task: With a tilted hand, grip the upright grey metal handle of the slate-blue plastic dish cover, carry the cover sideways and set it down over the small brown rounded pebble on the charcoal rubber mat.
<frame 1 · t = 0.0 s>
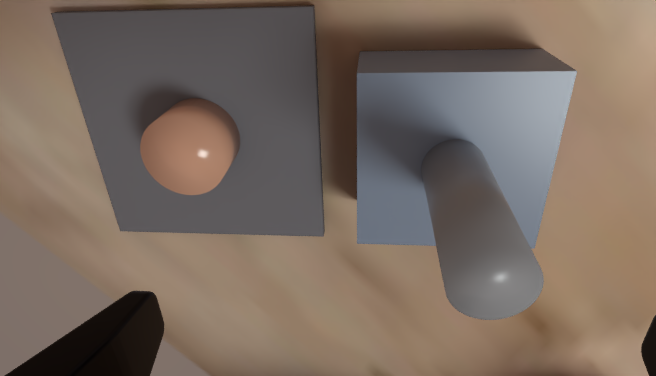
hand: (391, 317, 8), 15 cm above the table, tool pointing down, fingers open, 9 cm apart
rubber mat: (204, 132, 23), on the table
brown rounded pebble: (201, 136, 22), resting on rubber mat
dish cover: (441, 133, 22), on the table
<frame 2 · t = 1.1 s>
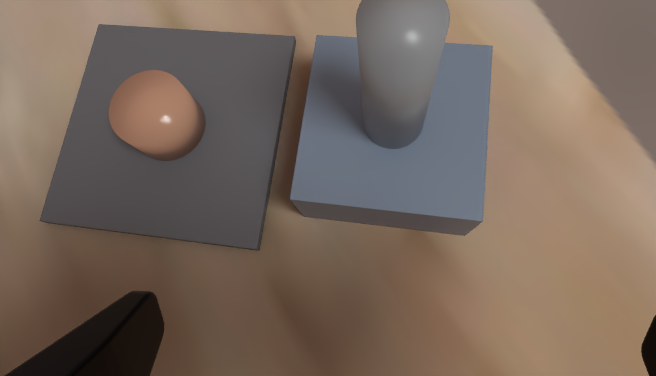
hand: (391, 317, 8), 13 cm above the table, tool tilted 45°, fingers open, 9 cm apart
rubber mat: (174, 129, 25), on the table
brown rounded pebble: (170, 126, 24), resting on rubber mat
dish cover: (390, 150, 23), on the table
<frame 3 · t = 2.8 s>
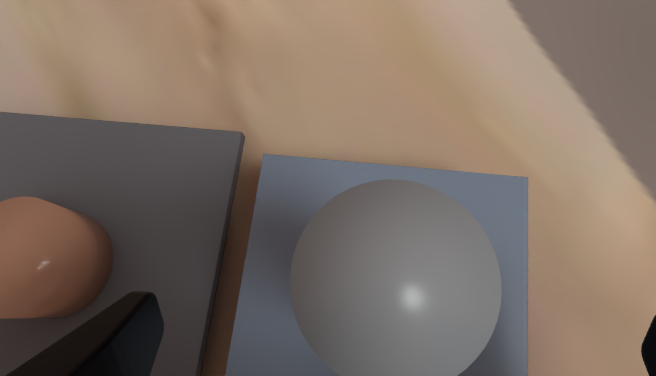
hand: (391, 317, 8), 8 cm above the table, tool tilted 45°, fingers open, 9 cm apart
rubber mat: (71, 265, 17), on the table
brown rounded pebble: (62, 263, 17), point 1 cm above the table, touching rubber mat
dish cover: (376, 303, 16), on the table
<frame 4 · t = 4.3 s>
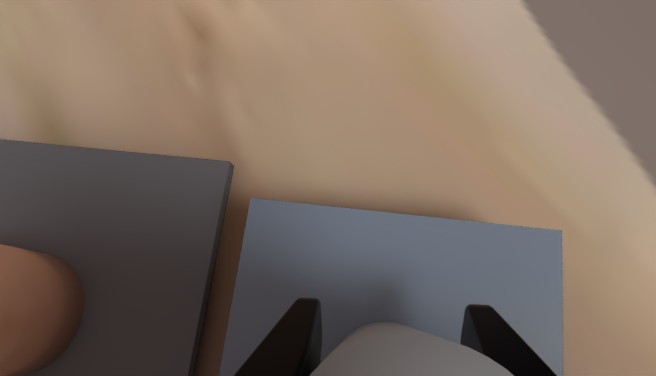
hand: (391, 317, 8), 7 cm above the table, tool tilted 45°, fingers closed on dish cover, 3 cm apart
rubber mat: (37, 311, 15), on the table
brown rounded pebble: (27, 311, 15), point 1 cm above the table, touching rubber mat
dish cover: (380, 361, 14), on the table, touching gripper
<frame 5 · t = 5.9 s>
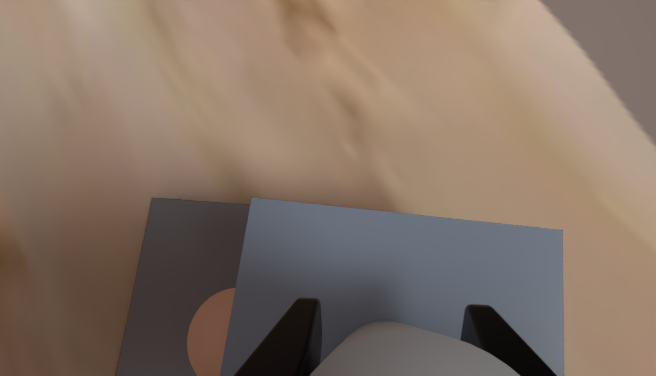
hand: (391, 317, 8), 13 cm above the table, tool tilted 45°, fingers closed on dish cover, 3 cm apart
rubber mat: (254, 335, 20), on the table
brown rounded pebble: (252, 335, 20), point 1 cm above the table, touching rubber mat
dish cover: (381, 361, 14), point 6 cm above the table, touching gripper
when the fingers open (8 cm above the table, at t = 7.6 s): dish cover drops 1 cm, resting on rubber mat.
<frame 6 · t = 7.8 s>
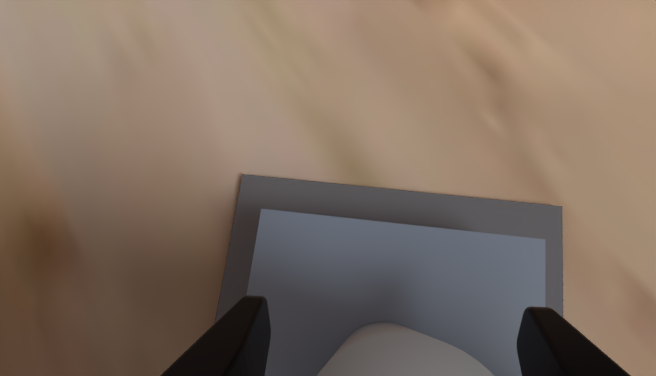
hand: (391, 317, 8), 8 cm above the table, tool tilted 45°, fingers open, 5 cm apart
rubber mat: (379, 355, 16), on the table
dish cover: (380, 358, 15), resting on rubber mat
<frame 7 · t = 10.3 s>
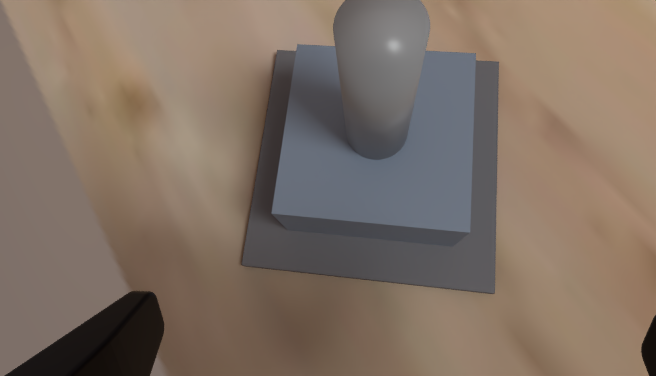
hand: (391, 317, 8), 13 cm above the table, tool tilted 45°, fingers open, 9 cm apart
rubber mat: (374, 162, 23), on the table
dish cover: (375, 160, 22), resting on rubber mat
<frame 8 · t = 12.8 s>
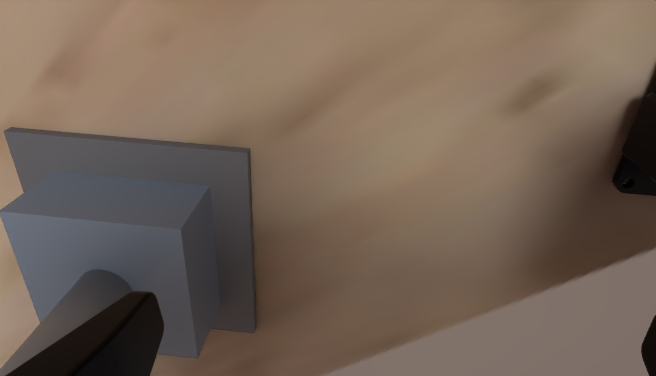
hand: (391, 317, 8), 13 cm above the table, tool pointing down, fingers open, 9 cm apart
rubber mat: (146, 237, 24), on the table
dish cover: (143, 242, 24), resting on rubber mat
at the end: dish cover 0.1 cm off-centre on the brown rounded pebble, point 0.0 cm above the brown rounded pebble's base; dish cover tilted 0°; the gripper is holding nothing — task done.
